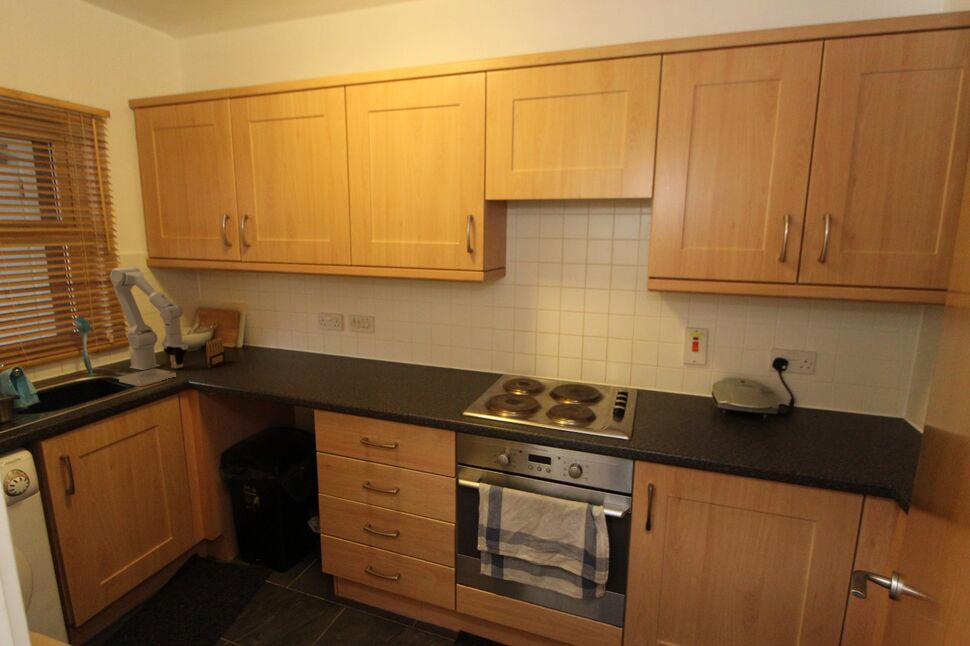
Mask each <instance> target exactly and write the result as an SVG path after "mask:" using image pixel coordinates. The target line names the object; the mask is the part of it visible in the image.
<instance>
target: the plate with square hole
mask: <svg viewBox="0 0 970 646" xmlns="http://www.w3.org/2000/svg"><path fill="white" fill-rule="evenodd" d="M172 377H175V378H177V372H175V371H170V370H165V369H160V368H156V367H154V368H150V369H146V370H141V371H138V372H134V373H129V374H125V375H122V376H121V375H120V376H118V380H119V381H118V382H119V383H123V384H128V385H132V386H136V387H141V386H142V387H145V386H148V385H152V384H156V383H159V382H163V381H162V380H164V381H166V380H165V379H167V380H169V379H168V378H171V379H173V378H172Z"/></svg>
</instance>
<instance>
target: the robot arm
mask: <svg viewBox="0 0 970 646" xmlns="http://www.w3.org/2000/svg"><path fill="white" fill-rule="evenodd" d="M109 279H110V281H111V283H112V285H113V291H114V294H115V295H116V297H117V300H118V302H119V304H120V308H121V309H122V311H123V314H124V316H125V318H126V321H127V323H128V325H129V328H130V329H129V330H128V331H127V333H126V336H127V339H128V340H127V342H128V344H129V347H131V348H132V349H131V350H130V353H129V355H130V363H131V365H130V366H129V368H130V369H133V370H134V369H135V370H141V371H146V370H150V369H154V368H158V367H161V366H162V365H161V364H157V362H156V360H157V359H156V353H155V346H156V343H158V335H157V333H156V332H154V330H153V328H152V327H151V326H149V325H147V324H145V323H146V322H145V320H144V319H143V316H142V314H141V311H140V309H139V307H138V305H137V303H136V300H135V297H134V295H133V292H132V289H133V287H137V288H138V289H139V290H141V291H142V292H143V294H145V295H146V296H148V298H149V299H148V300H149V302H150V303H151V305H153V307H155V308H156V309H157V310H158V311H159V316H160V318H161V319H162V322H163V324H164V330H165V331H164V332H165V341H161V346H162V347H164V348H163V351H164V352H165V353H166V355H167V357H168V359H169V362H170V363H171V361H170V355H173V354H174V356H175V360H176V364H177V365H180V364H182V363H183V364H184V357H185V354H186V352H187V350H189V345H188V344H187V343H186V342H183V337H182V328H181V327H182V326H181V318H180V317H182V315H183V309H182V308H181V306H180V305H179V304H175V303H173V302H172V301H171V300H169V299H168V298H167V296H166V295H165V293H163V292H159V291H156V290H155V288H154V287H153V286H152V285H151V284H150V283H149V282H148V280H147V279H146V278H145V277H144V272H142V270H141V269H140V268H139V267H136V266H130V267H116V268H113V269H112V270H111V272H110V275H109Z"/></svg>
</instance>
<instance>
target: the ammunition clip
mask: <svg viewBox="0 0 970 646" xmlns="http://www.w3.org/2000/svg"><path fill="white" fill-rule="evenodd" d="M205 348H206V351H205V353H206V356H205V363H206V369H213V368H215V367H217V366H219V365H220V366H221V365H222V364H225V363H226V362H227V360H226V351H225V350H224V344H223V338H222V337H221V336H220V337H217V338H214V339H212V340H209V341H208V340H207V341H206V346H205Z"/></svg>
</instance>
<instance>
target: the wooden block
mask: <svg viewBox="0 0 970 646" xmlns="http://www.w3.org/2000/svg"><path fill="white" fill-rule="evenodd" d="M170 361H171V362H170ZM169 362H170V367H171V368H172V369H179V368H184V362H183V363H182V364H180V365H177V364H176V360H175V356H174V354H173V355H170V359H169Z"/></svg>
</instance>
